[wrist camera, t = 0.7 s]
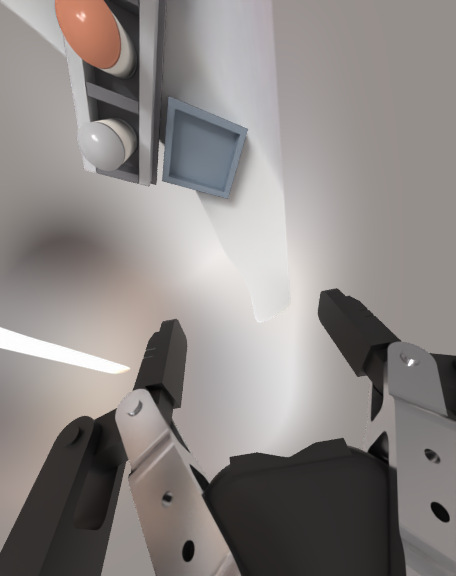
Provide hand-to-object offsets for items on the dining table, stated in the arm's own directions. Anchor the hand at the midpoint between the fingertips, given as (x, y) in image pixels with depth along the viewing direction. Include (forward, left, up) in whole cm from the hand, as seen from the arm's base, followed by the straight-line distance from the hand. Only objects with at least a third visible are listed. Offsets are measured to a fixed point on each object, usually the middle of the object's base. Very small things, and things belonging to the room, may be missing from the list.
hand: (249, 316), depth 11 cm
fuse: (-11, +3, -26) cm, 28 cm away
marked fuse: (-11, +10, -26) cm, 30 cm away
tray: (-1, +4, -27) cm, 27 cm away
